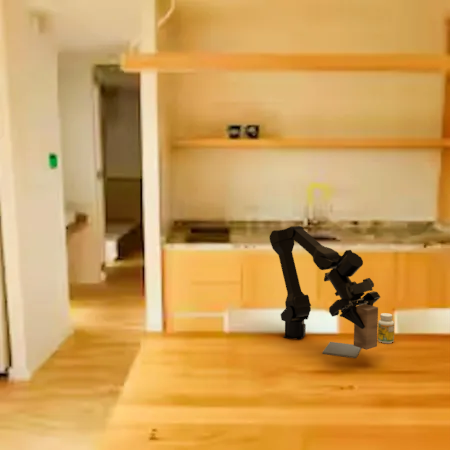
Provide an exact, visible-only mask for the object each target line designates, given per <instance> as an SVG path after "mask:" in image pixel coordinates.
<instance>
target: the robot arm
mask: <svg viewBox="0 0 450 450" xmlns="http://www.w3.org/2000/svg"><path fill="white" fill-rule="evenodd" d="M269 242H270V245H271V248H272V249H273V251H274V252H275V253H276V254H277V255H278V259H279V263H280V267H281V268H280V269H281V272H282V276H283V280H284V284H285V288H286V292H287V295H286V298H285V303H284V304H285V309H284V310H283V311H282V312H281V313H280V319H281V321H283V322H284V335H283V338H284V339H291V340H297V341H298V340H302V339H304V337H305V336H306V328H307V327H306V325H307V324H306V323H305V320H308V319H309V315H310V312H311V311H312V309H311V306H312V304H311V303H310V297H309V295H308V294H305V293H303V291H302V288H301V284H300V280H299V276H298V271H297V267H296V264H295V259H294V255H293V250H294V246H295V242H296V243H297V245H299V246H301V248H303V249H304V250H305V251H306V252H307V253H308V254H309V255H310V256H311V257H312V261H313V263H314V264H315V266H316V267H317V268H318V269H319V270H320V271H325V270H330V271H329V272H324V277H323V278H324V279H323V281H324V282H330V284H331V285H332V286H333V288H334V290H335V293H334V295H335V296H336V297H338V296H339V298H340V299H337V300H335V301H334V302H333V303H331V305H330V306H329V307H328V312H329V314H330V316H331V318H332V317H336V316H339V317H341V318H344V319H346V320H347V321H349V322H351V323H352V324H353V325H354V324H355V325H357V326H358V327H360V328H361V329H364V328H365V326H364V324H363V322H362V320H361V318H360V317H359V315H358V313H357V311H356V306H359V305H363V304H367V305H371V306H374V304H376V302H377V301H378V300H379V299H380V298H381V296H380V294H379V292H378V291H373V290H374V289H373V288H375V283H374V282H373V280H372V279H371V277H366V278H365V279H364V278H363V279H362V281H361V282H358V283H357V282H356V281H352V280H351V279H350V277H353V276H354V275H355V274H356V272H357V271H358V270H360V268H361V267H362V266H363V265H364V260H363V258H362V257H361V256H360V255H359V254H357V253H355V252H353V251H352V249H347V250H345V251H344V252H343V254H342V255H340V254H339V252H338V251H336V250H334V249H332V248H330V247H327V246H325V245H322V244H321V242H319V241H318V240H316V239H315V238H314V237H313V236H312V235H311V234H310V233H309V232H307V231H306V230H305V229H304V227H303V226H301V225H296V226H295V225H294V226H293V225H292V226H289V227H287V228H284V229H276V230H275V229H274V230H272V231H271V232H270V234H269ZM366 292H367V293H366Z"/></svg>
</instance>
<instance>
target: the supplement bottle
mask: <svg viewBox="0 0 450 450" xmlns="http://www.w3.org/2000/svg"><path fill="white" fill-rule="evenodd" d="M379 318H380V319H379V320H378V327H377V342H379V343H381V342H382V344H392V342H393V343H394V341H395V340H394V339H395V321H394V320H393V314H392V313H388V312H382V313H380V317H379Z"/></svg>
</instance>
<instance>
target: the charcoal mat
mask: <svg viewBox="0 0 450 450" xmlns="http://www.w3.org/2000/svg"><path fill="white" fill-rule="evenodd" d="M361 350H363V349H362V348H360V347H357V346H354V344H352V343H351V344H350V343H342V342H335V341H329V343H327V346H326V347H325V348H324V349H323V351H322V355H329V356H337V357H344V358H350V359H351V358H352V359H357V357H358V356H359V353H361Z"/></svg>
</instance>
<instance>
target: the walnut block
mask: <svg viewBox="0 0 450 450" xmlns="http://www.w3.org/2000/svg"><path fill="white" fill-rule="evenodd" d="M356 311H357V313H358V315H359V317H360V318H361V320H362V322H363V324H364V326H365V328H364V329H361V328H360V327H358V326H357V325H355V324H354V323H353V345H354V346H357V347H360V348H362V349H361V350H366V351H367V350H371V349H374V348H377V347H378V322H379V320H378V319H379V307H378V306H374V305H373V306H371V305H367V304H363V305H357V306H356Z"/></svg>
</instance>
